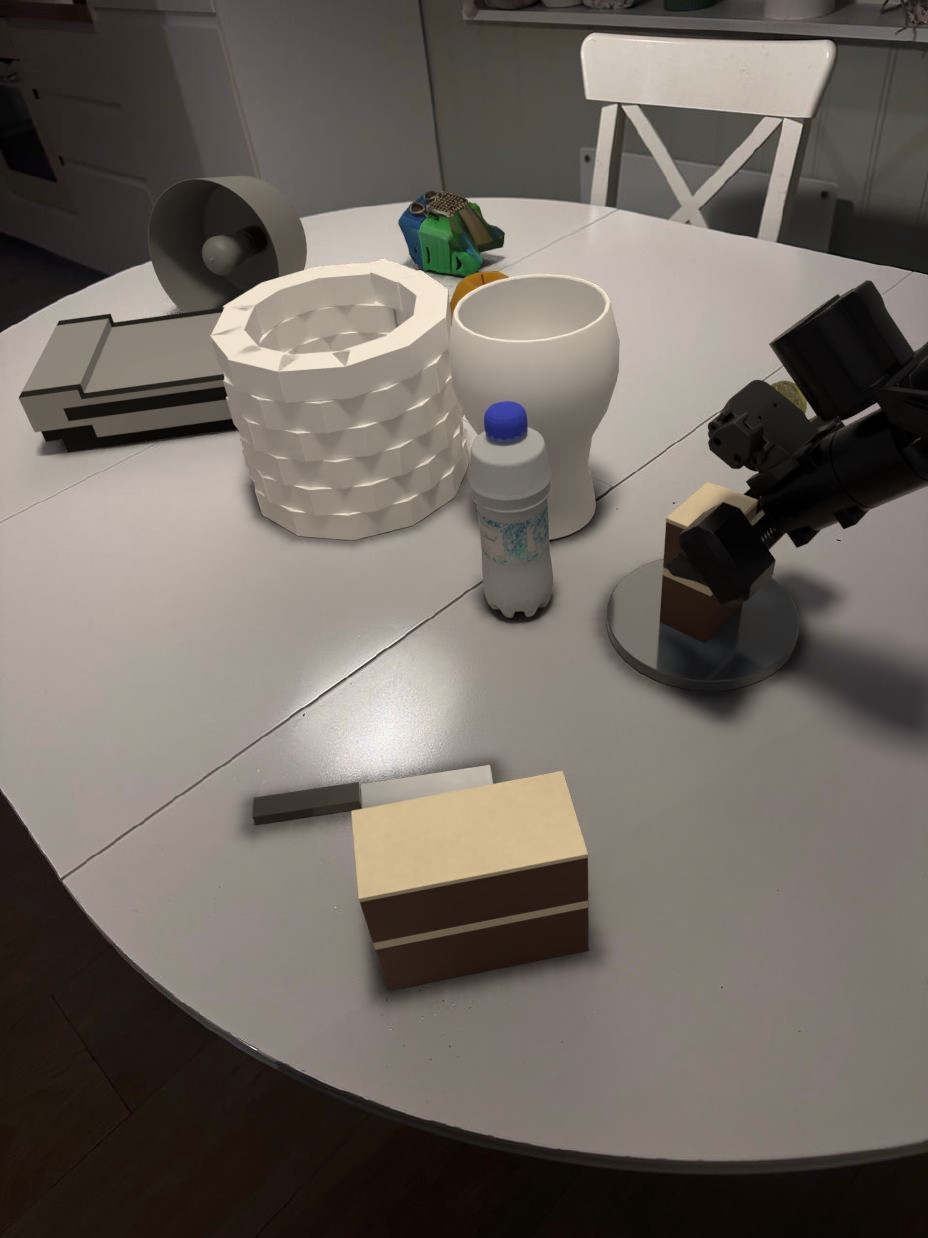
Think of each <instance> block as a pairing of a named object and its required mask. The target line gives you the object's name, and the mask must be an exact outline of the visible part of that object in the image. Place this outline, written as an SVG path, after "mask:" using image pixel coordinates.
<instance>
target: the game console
mask: <svg viewBox="0 0 928 1238" xmlns="http://www.w3.org/2000/svg"><path fill="white" fill-rule="evenodd" d="M223 310H224V309H223V308H216V309H209V310H201V311H194V312H187V313H183V312H181V313H179V312H178V313H173V314H166V315H165V314H164V315H158V316H150V317H142V318H137V319H130V320H120V321H114V318H113V316H112V314H111V313H104V314H98V315H89V316H82V317H75V318H68V319H61V320H58V322H57V324H56V326H55V327H54V329H53V331H52V333H51V335H50V337H49V339H48V340H47V343H46V344H45V347H44V348H43V350H42V352H41V354H40V356H39V358H38V359H37V362H36V363H35V366H34V367H33V369H32V371H31V373H30V375H29V377H28V379H27V381H26V383H25V384H24V386H23V388H22V390H21V392H20V393H19V396H18V400H19V402H20V404H21V406H22V408H23V409H22V410H23V411H24V412H25V415H26V417H27V419H28V421H29V424H30V426H31V428H32V430H33V432H34V433H41V435H42V437H43V439H44V442H45V443H49V442H56V441H61V442H62V445H63V446H64V448H65V450H66V453H75V452H80V451H82V452H84V451H90V450H97V449H103V448H104V449H105V448H112V447H118V446H119V447H120V446H126V445H132V444H133V445H134V444H141V443H147V442H154V441H162V440H169V439H170V440H171V439H177V438H183V437H184V438H185V437H191V436H198V435H205V434H212V433H213V434H214V433H220V432H228V431H235V430H238V428H237V427H236V426H235V425H234V423H233V420H232V416H231V413H230V410H229V406H228V403H227V400H226V397H228V396H227V392H226V389H225V386H224V382H223V380H225V379H224V371H223V370H222V369H221V367H220V366H219V364H218V361H217V358H216V354H215V351H214V347H213V344H212V341H211V337H210V335H211V334H212V332H213V330H214V328H215V326H216V324H217V322H218V320H219V318H220V316H221V314H222V312H223Z"/></svg>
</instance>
